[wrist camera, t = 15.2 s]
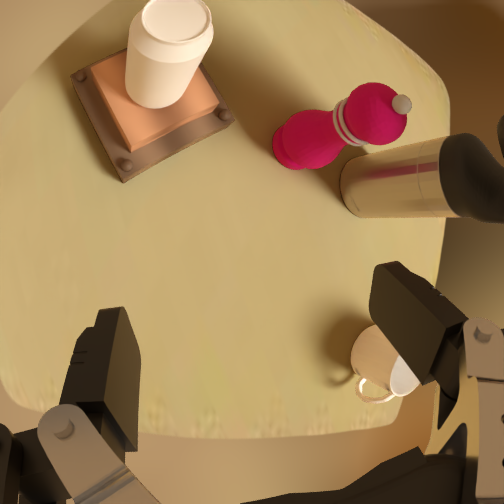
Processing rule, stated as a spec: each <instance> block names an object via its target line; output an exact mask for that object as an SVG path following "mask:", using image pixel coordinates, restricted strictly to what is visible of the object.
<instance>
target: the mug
mask: <svg viewBox="0 0 504 504" xmlns="http://www.w3.org/2000/svg"><path fill="white" fill-rule="evenodd" d="M351 365H352V368H353V370H354V372H355V373H356V374H357V375H359V376H361V377H360V378H359V380H358V381H357V382H356V388H355V389H356V390H355V391H356V395H357V396H358V397H359V398H360V399H361V400H362V401H364V402H368V403H382V402H387V401H389V400H390V399H391V398H393V397H394V396H405V395H407V394H409V393H410V392H412V391H413V390H414V389H415V388H416V387H417V386H418V385H419V383H420V381H419V380H418V379H417V377H416V376H415V375H414V373H413V372H412V371H411V369H410V368H409V367H408V365H407V364H406V363H405V361H404V360H403V359H402V357H401V356H400V355H399V353H398V352H397V351H396V350H395V348H394V347H393V346H392V344H391V343H390V342H389V340H388V339H387V338H386V337H385V335H384V334H383V333H382V331H381V330H380V329H379V328H378V326H377V325H372V326H370V327H368V328H366V329H365V330H364V331H363V332H362V333H361V334H360V335H359V336H358V338H357V339H356V341H355V343H354V345H353V348H352V351H351ZM366 380H368V381H370V382H372V383H374V384H375V385H377V386H379V387H381V388H383V389H385V390H387V391H389V393H388V394H386V395H385V396H383V397H379V398H370V397H367V396H364V395H363V394H362V385H363V383H364V382H365V381H366Z"/></svg>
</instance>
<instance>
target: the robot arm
mask: <svg viewBox="0 0 504 504" xmlns="http://www.w3.org/2000/svg"><path fill="white" fill-rule="evenodd" d="M497 133H498V139H499V144H500V147H501V151H502V154H503V157H504V115H503V116H502V117H501V119H500V120H499V122H498V125H497ZM340 190H341V195H342V198H343V200H344V203H345V204H346V206H347V208H348V209H349V210H350V211H351V212H352V213H353V214H354V215H356V216H358V217H361V218H414V217H471V218H473V219H475V220H478V221H481V222H486V223H498V224H504V168H503V167H502V166H501V165H500V164H499V163H498V162H497V160H496V159H495V158H494V157H493V156H492V154H491V153H490V152H489V150H488V149H487V148H486V146H485V145H484V144H483V143H482V142H481V141H480V139H479V138H477V137H476V136H474V135H472V134H468V133H462V134H457V135H452V136H446V137H442V138H437V139H432V140H428V141H423V142H419V143H414V144H410V145H405V146H401V147H397V148H393V149H388V150H384V151H380V152H376V153H371V154H367V155H364V156H360V157H356V158H353V159H351V160H349V161H348V162H347V163H346V165H345V166H344V168H343V170H342V173H341V178H340ZM369 312H370V315H371V318H372V320H373V321H374V323H375V324H376V325H377V326H378V328H379V329H380V330H381V331H382V333H383V334H384V335H385V337H386V338H387V339H388V340H389V342H390V343H391V344H392V346H393V347H394V348H395V350H396V351H397V352H398V353H399V355H400V356H401V357H402V359H403V360H404V361H405V363H406V364H407V365H408V367H409V368H410V369H411V371H412V372H413V373H414V375H415V376H416V377H417V379H418V380H419V381H420V383H421V384H422V385H425V384H427V383H430V382H432V381H434V380H436V381H437V382H438V385H437V387H436V390H435V402H434V413H433V423H432V432H431V438H430V441H429V444H428V446H427V449H426V451H425V454H424V455H423V453H422V452H421V450H420V448H419V447H418V446H417V447H415V448H413V449H411V450H409V451H408V452H405V453H403V454H401V455H398V456H396V457H394V458H392V459H389V460H387V461H385V462H382V463H380V464H379V465H378V466H376V467H375V468H374V469H372V470H371V471H369V472H368V473H366V474H365V475H363V476H362V477H361V478H359V479H357V480H356V481H354V482H353V483H352V484H350V485H348V486H347V487H345V488H343V489H340V490H334V491H323V492H309V493H289V494H284V495H280V496H276V497H271V498H267V499H262V500H257V501H251V502H246V503H240V504H504V329H500V328H499V327H498V326H497V325H496V324H495V323H493V322H492V321H490V320H488V319H485V318H477V317H476V318H471V319H468V318H467V317H466V316H465V315H464V314H463V313H462V312H461V311H460V310H459V309H458V308H457V307H456V306H455V305H454V304H452V303H451V302H450V301H449V300H448V299H447V298H446V297H445V296H442V294H441V293H440V292H439V291H438V290H437V289H434V286H433V285H431V284H430V283H429V282H428V281H427V280H426V279H424V278H422V277H420V276H418V275H416V274H414V273H412V272H410V271H409V270H408V269H407V268H406V267H405V266H404V265H402V264H401V263H400V262H398V261H394V262H389V263H384V264H379V265H377V266H376V267H375V269H374V273H373V280H372V287H371V293H370V299H369ZM140 371H141V356H140V350H139V346H138V343H137V340H136V338H135V335H134V332H133V329H132V327H131V324H130V321H129V318H128V315H127V312H126V310H125V308H124V307H115V308H107V309H100V310H99V312H98V315H97V318H96V321H95V325H94V327H87V328H86V329H85V330H84V331H83V333H82V334H81V335H80V336H79V338H78V339H77V341H76V344H75V348H74V351H73V355H72V358H71V361H70V365H69V368H68V371H67V375H66V379H65V382H64V386H63V390H62V394H61V398H60V402H59V405H58V406H55V407H53V408H51V409H50V410H48V411H47V412H46V413H45V414H44V415H43V416H42V418H41V419H40V421H39V424H38V427H37V428H34V429H31V430H27V431H24V432H19V433H16V434H12V433H11V431H9V429H8V428H7V427H6V426H5V425H3V424H1V423H0V504H18V494H19V504H66V499H70V498H72V499H73V500H74V502H75V504H161V503H160V502H159V501H158V500H157V499H156V498H155V497H154V496H153V495H152V494H151V493H150V492H149V491H148V490H147V489H146V488H145V487H144V485H143V484H142V483H141V482H140V481H139V480H138V479H137V478H136V477H135V476H134V474H133V473H132V472H131V471H130V470H129V469H128V468H127V466H126V465H125V452H135V451H138V446H137V445H138V407H139V387H140Z"/></svg>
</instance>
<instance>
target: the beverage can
mask: <svg viewBox="0 0 504 504" xmlns="http://www.w3.org/2000/svg"><path fill="white" fill-rule="evenodd" d="M211 20H212V17H211V13H210V10H209V8H208V7H207V5H206V4H205V3H204V2H203V1H201V0H150V1H149V2H147V4H146V5H145V6H144V8H143V9H141V10H140V11H139V12H138V13H137V14H136V15H135V17H134V18H133V20H132V22H131V25H130V29H129V38H128V48H127V59H126V73H125V86H126V90H127V93H128V95H129V96H130V98H131V99H132V100H133V101H134V102H136V103H137V104H139V105H141V106H143V107H146V108H153V109H157V108H163V107H167V106H169V105H171V104H173V103H175V102H176V101H177V100H178V99H179V98H180V97H181V96H182V95H183V93H184V92H185V90H186V88H187V86H188V84H189V82H190V81H191V79H192V77H193V75H194V73H195V71H196V69H197V67H198V66H199V64H200V62H201V60H202V58H203V57H204V55H205V53H206V51H207V49H208V48H209V46H210V44H211V42H212V39H213V33H214V32H213V25H212V22H211Z"/></svg>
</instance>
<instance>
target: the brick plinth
mask: <svg viewBox="0 0 504 504" xmlns="http://www.w3.org/2000/svg"><path fill="white" fill-rule="evenodd" d="M126 59H127V48H126V49H124V50H121V51H119V52H117V53H114V54H112V55H110V56H108V57H106V58H104V59H101V60H99V61H97V62H95V63H93V64H91V65H89V66H87V67H85V68H83V69H81V70H79V71H77V72H76V73H74V74H72V75H70V76H71V80H72V83H73V86H74V89H75V91H76V93H77V95H78V97H79V99H80V101H81V103H82V105H83V107H84V109H85V112H86V114H87V116H88V118H89V120H90V122H91V124H92V126H93V128H94V130H95V132H96V133H97V135H98V137H99V139H100V141H101V143H102V145H103V147H104V149H105V151H106V153H107V155H108V157H109V158H110V160H111V162H112V164H113V166H114V168H115V170H116V171H117V173H118V175H119V177H120V179H121V181H122V182H123V183H125V182H127V181H128V180H130V179H132V178H133V177H135V176H137V175H138V174H140V173H142V172H143V171H145V170H147V169H149V168H150V167H152V166H154V165H156V164H158V163H159V162H161V161H163V160H165V159H167V158H168V157H170V156H172V155H174V154H176V153H178V152H179V151H181V150H183V149H185V148H187V147H189V146H191V145H193V144H195V143H197V142H199V141H201V140H203V139H205V138H207V137H209V136H211V135H213V134H215V133H217V132H219V131H221V130H223V129H225V128H227V127H228V126H229V125H230V124H231V123H233V122H234V121H235V119H234V117H233V115H232V114H231V112H230V110H229V108H228V107H227V105H226V103H225V102H224V100H223V98H222V96H221V95H220V93H219V91H218V90H217V88H216V86H215V84H214V83H213V81H212V79H211V78H210V76H209V74H208V73H207V71H206V69H205V68H204V66H203V64H202V63H201V62H200V64H199V66H198V67H197V69H196V71H195V73H194V75H193V77H192V79H191V81H190V82H189V84H188V86H187V88H186V90H185V92H184V93H183V95H182V96H181V97H180V98H179V99H178V100H177V101H176V102H175V103H173V104H171V105H169V106H167V107H163V108H157V109H153V108H146V107H143V106H141V105H139V104H137V103H136V102H134V101H133V100H132V99H131V98H130V96H129V95H128V93H127V90H126V86H125V73H126Z"/></svg>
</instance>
